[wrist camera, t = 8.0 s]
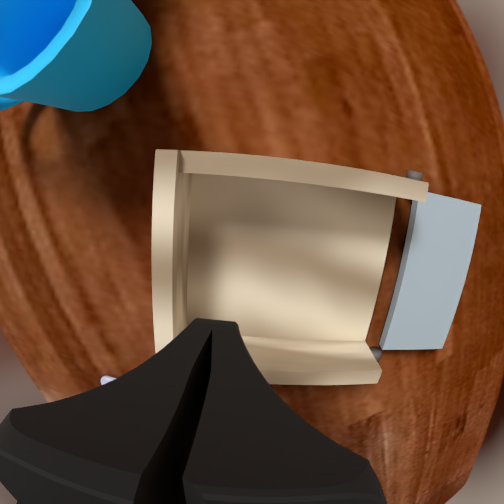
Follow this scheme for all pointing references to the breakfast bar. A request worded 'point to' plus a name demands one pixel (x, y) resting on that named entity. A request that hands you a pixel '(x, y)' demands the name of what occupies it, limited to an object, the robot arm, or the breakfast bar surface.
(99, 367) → the breakfast bar surface
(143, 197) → the breakfast bar surface
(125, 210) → the breakfast bar surface
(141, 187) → the breakfast bar surface
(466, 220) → the panel
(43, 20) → the mug
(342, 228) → the box
